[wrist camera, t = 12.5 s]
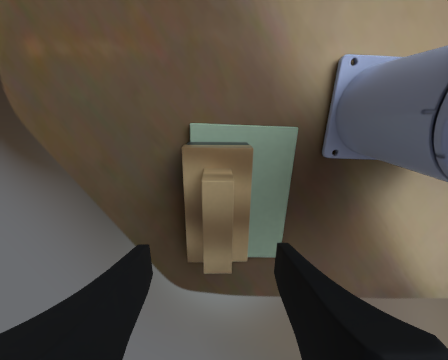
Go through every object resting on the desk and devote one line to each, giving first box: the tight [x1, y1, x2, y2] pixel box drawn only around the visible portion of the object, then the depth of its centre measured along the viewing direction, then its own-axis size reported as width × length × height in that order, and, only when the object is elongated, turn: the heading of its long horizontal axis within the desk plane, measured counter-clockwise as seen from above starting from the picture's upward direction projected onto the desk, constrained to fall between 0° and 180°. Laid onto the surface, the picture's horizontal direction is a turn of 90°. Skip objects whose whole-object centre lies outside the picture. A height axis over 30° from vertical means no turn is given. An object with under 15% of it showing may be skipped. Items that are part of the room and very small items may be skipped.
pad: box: [190, 123, 298, 257], centre depth 20 cm, size 9×13×1 cm
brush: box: [182, 142, 254, 274], centre depth 17 cm, size 10×5×6 cm, turn 179°
